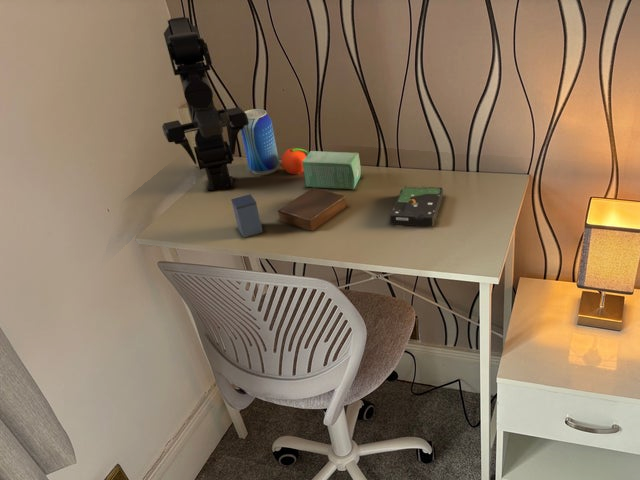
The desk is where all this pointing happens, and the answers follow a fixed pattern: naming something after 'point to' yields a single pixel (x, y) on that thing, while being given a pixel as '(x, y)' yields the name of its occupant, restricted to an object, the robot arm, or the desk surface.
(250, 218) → the small box
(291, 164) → the clementine
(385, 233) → the desk surface
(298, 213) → the brown flat block
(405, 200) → the disk drive
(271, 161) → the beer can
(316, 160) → the box
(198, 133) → the robot arm
